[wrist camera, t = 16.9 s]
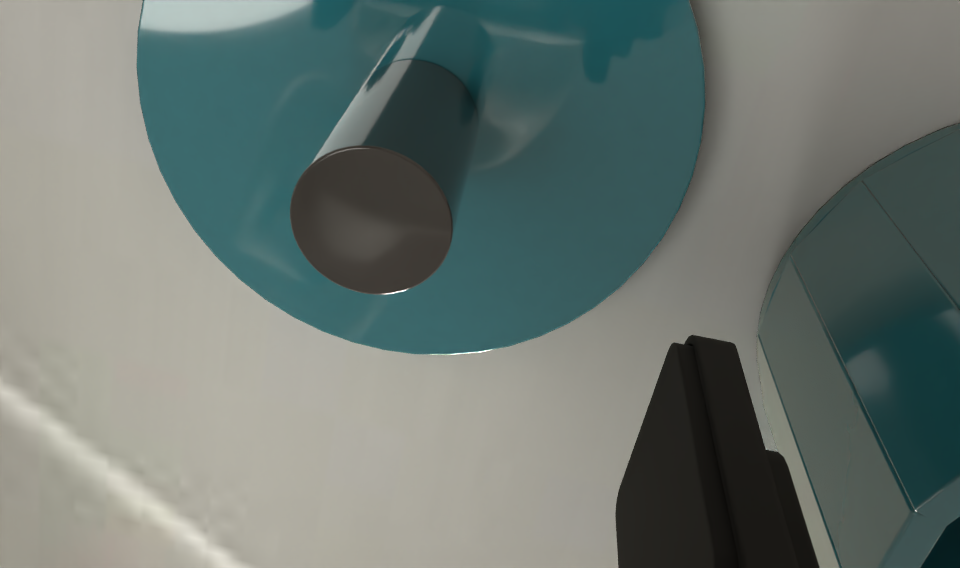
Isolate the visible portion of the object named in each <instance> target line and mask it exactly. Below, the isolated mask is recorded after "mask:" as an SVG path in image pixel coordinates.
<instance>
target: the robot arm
mask: <svg viewBox="0 0 960 568" xmlns="http://www.w3.org/2000/svg"><path fill="white" fill-rule="evenodd" d="M616 531H617V548H618V565H619V568H820V567H819V564H818V561H817V557H816V554H815V551H814V548H813V545H812V541H811V538H810V535H809V532H808V529H807V525H806V522H805V519H804V516H803V512H802V509H801V506H800V503H799V500H798V496H797V493H796V490H795V487H794V484H793V480H792V477H791V474H790V471H789V467H788V465H787V463H786V460H785V458H784V456H782V455H781V454H780V453H779V452H774V451H769V450H765V446H764V443H763V439H762V436H761V432H760V429H759V425H758V422H757V418H756V415H755V411H754V408H753V404H752V401H751V397H750V394H749V390H748V387H747V383H746V380H745V376H744V372H743V369H742V365H741V362H740V358H739V355H738V351H737V348H736V346H735V344H733V343H731V342H726V341H721V340H716V339H710V338H705V337H700V336H695V335H691V336H689V337H688V339H687V340H686V342H685V344H679V343H672V345H671V346H670V348H669V350H668V353H667V355H666V358H665V361H664V364H663V367H662V370H661V372H660V375H659V378H658V381H657V384H656V386H655V389H654V392H653V395H652V398H651V401H650V403H649V406H648V409H647V412H646V415H645V418H644V420H643V423H642V426H641V429H640V432H639V435H638V437H637V440H636V443H635V446H634V449H633V451H632V454H631V457H630V460H629V463H628V466H627V468H626V471H625V474H624V477H623V480H622V483H621V485H620V489H619V492H618V497H617V503H616Z"/></svg>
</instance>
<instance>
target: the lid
mask: <svg viewBox="0 0 960 568" xmlns="http://www.w3.org/2000/svg"><path fill="white" fill-rule="evenodd" d="M137 76H138V86H139V96H140V104H141V109H142V113H143V117H144V122H145V126H146V131H147V135H148V139H149V142H150V144H151V147H152V150H153V153H154V155H155V158H156V161H157V164H158V166H159V169H160V172H161V174H162V176H163V178H164V180H165V182H166V184H167V185H168V187H169V189H170V191H171V193H172V195H173V197H174V199H175V201H176V203H177V205H178V206H179V208H180V209H181V211H182V212H183V214H184V215H185V217H186V218H187V220H188V221H189V223H190V224H191V226H192V227H193V229H194V230H195V232H196V233H197V234H198V235H199V236H200V238H201V239H202V240H203V241H204V243H205V244H206V245H207V246H208V247H209V249H210V250H211V251H212V252H213V253H214V255H215V256H216V257H217V258H218V259H219V260H220V261H221V262H222V263H223V264H224V265H225V266H226V267H227V268H228V269H230V270H231V271H232V272H233V273H234V274H235V275H236V276H237V277H238V278H239V279H240V280H241V281H242V282H244V283H245V284H246V285H247V286H249V287H250V288H251V289H253V290H254V291H255V292H256V293H258V294H259V295H260V296H262V297H263V298H264V299H265V300H267V301H268V302H270V303H272V304H273V305H275V306H276V307H278V308H280V309H281V310H283V311H285V312H286V313H288V314H289V315H291V316H293V317H294V318H296V319H298V320H300V321H303V322H305V323H307V324H309V325H311V326H313V327H315V328H317V329H319V330H321V331H323V332H326V333H329V334H331V335H334V336H337V337H340V338H343V339H345V340H348V341H351V342H354V343H358V344H362V345H366V346H370V347H374V348H378V349H382V350H388V351H396V352H403V353H410V354H427V355H453V354H466V353H478V352H483V351H488V350H493V349H498V348H503V347H508V346H512V345H515V344H518V343H521V342H524V341H527V340H531V339H534V338H537V337H540V336H542V335H544V334H546V333H548V332H551V331H553V330H555V329H557V328H560V327H562V326H564V325H566V324H568V323H570V322H571V321H573V320H575V319H576V318H578V317H580V316H581V315H583V314H585V313H586V312H588V311H590V310H591V309H593V308H594V307H596V306H597V305H598V304H600V303H601V302H602V301H603V300H605V299H606V298H607V297H608V296H610V295H611V294H612V293H614V292H615V291H616V290H617V289H619V288H620V287H621V286H622V285H623V284H624V283H625V282H626V281H627V280H628V279H629V278H630V277H631V276H632V275H633V274H634V273H635V272H636V271H637V270H638V268H639V267H640V266H641V265H642V264H643V263H644V262H645V261H646V259H647V258H648V257H649V255H650V254H651V253H652V251H653V250H654V249H655V247H656V246H657V245H658V243H659V242H660V241H661V239H662V238H663V237H664V235H665V233H666V231H667V230H668V228H669V226H670V224H671V223H672V221H673V219H674V217H675V216H676V214H677V212H678V210H679V208H680V206H681V204H682V201H683V199H684V196H685V194H686V191H687V189H688V186H689V184H690V181H691V179H692V176H693V173H694V169H695V165H696V161H697V157H698V153H699V149H700V145H701V141H702V133H703V124H704V114H705V105H706V99H705V66H704V60H703V54H702V48H701V42H700V36H699V30H698V26H697V23H696V20H695V16H694V13H693V10H692V7H691V4H690V1H689V0H143V4H142V10H141V16H140V21H139V27H138V43H137Z"/></svg>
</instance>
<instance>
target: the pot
mask: <svg viewBox="0 0 960 568" xmlns="http://www.w3.org/2000/svg"><path fill="white" fill-rule="evenodd" d="M757 366H758V372H759V378H760V384H761V389H762V401H763V407H764V410H765V413H766V416H767V419H768V422H769V426H770V429H771V432H772V435H773V438H774V441H775V444H776V447H777V450H778V452H779V453H780V454H781V455H782V456H784V458H785V460H786V463H787V465H788V467H789V471H790V474H791V477H792V480H793V484H794V487H795V490H796V493H797V496H798V500H799V503H800V506H801V509H802V512H803V516H804V519H805V522H806V525H807V529H808V532H809V535H810V538H811V541H812V545H813V548H814V551H815V554H816V557H817V561H818V564H819V567H820V568H960V123H958V124H955V125H952V126H949V127H947V128H944V129H941V130H938V131H936V132H934V133H932V134H929V135H927V136H925V137H923V138H921V139H919V140H916V141H914V142H912V143H910V144H908V145H906V146H904V147H902V148H900V149H899V150H897V151H895V152H894V153H892V154H890V155H889V156H887V157H885V158H884V159H882V160H880V161H879V162H877V163H875V164H873V165H872V166H871V167H869V168H868V169H867V170H865V171H864V172H863V173H861V174H860V175H859V176H857V177H856V178H855V179H853V180H852V181H851V182H849V183H848V184H847V185H845V186H844V187H843V188H842V189H841V190H840V191H839V192H838V193H837V194H835V195H834V196H833V197H832V198H831V199H830V200H829V201H828V202H827V203H826V204H825V205H824V206H823V207H822V208H820V209H819V211H818V212H817V213H816V214H815V215H814V216H813V218H812V219H811V220H810V221H809V222H808V224H807V225H806V226H805V227H804V228H803V229H802V231H801V232H800V233H799V234H798V236H797V237H796V239H795V240H794V242H793V243H792V245H791V246H790V248H789V249H788V251H787V252H786V254H785V255H784V257H783V258H782V260H781V262H780V264H779V266H778V268H777V270H776V272H775V274H774V277H773V279H772V281H771V283H770V285H769V287H768V290H767V294H766V297H765V300H764V303H763V306H762V309H761V313H760V319H759V325H758V331H757Z"/></svg>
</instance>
